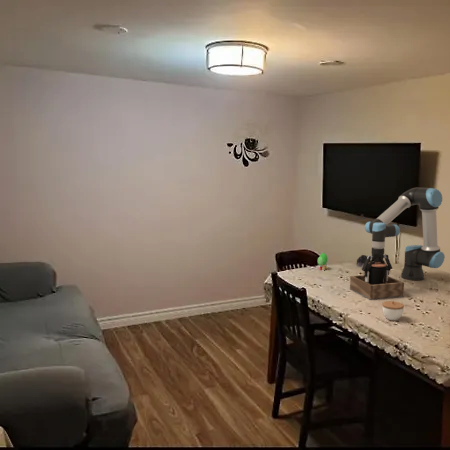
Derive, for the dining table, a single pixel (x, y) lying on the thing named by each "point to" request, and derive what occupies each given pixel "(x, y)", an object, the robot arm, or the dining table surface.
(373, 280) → the coffee jar
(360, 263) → the crystal cluster
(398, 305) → the lidded jar
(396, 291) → the open wooden box
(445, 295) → the dining table surface
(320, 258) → the green toy tree
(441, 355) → the dining table surface
